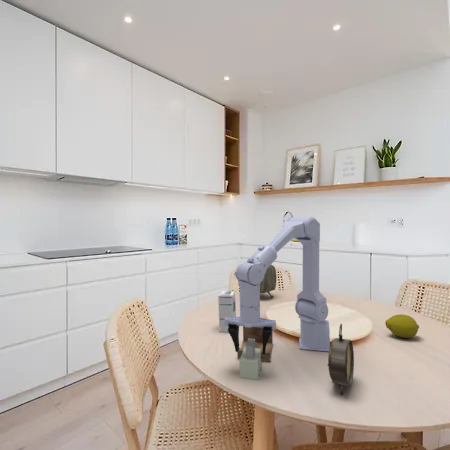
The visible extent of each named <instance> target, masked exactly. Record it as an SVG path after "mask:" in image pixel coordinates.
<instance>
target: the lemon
mask: <svg viewBox="0 0 450 450" xmlns="http://www.w3.org/2000/svg"><path fill="white" fill-rule="evenodd" d="M384 324H385V327H386V329H388V330H389V332H391V333H392V334H393V335H395V336H397V337H399V338H404V339H407V338H409V339H410V338H412V337H415V336H416V335H417V333H418V331H419V329H420V325H419V324H418V323H417V321H416V320H415V318H414V317H412V316H410V315H407V314H395V315H392V316H391V317H389V318H388V319H386V320H385V322H384Z"/></svg>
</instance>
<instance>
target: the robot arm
mask: <svg viewBox="0 0 450 450" xmlns="http://www.w3.org/2000/svg"><path fill="white" fill-rule="evenodd" d="M292 239H295V240H297V241H299V243H300V244H301V245H302V290H301V291H300V292H299V293H297V294H296V300H295V301H296V302H295V304H294V310H295V312H296V314H297V315H298V318H299V320H300V322H299V323H300V337H299V338H298V343H299V349H300V350H307V351H308V350H309V351H317V352H329V349H330V344H331V338H330V337H331V336H330V334H331V333H330V331H331V330H330V323H329V320H327V318H328V316H329V307H328V303H327V298H326V296H325V295H324V294H323V293H321V291H320V241H321V223H320V222H319V221H318V220H317V219H316V218H315V217H312V216H310V217H294V216H293V217H292V216H290V217H288V218H287V219H286V220H285V221H283V223H282V227H281V229H280V230H278V232H277V233H276V235H275V236H274V237H273V238H272V239H271V241H270V242H269V243H268V244H262V245H259V246H258V247H257V251H255V252H254V253H253V254H252V255H251V256H250V257H248V258H247V261H243V262H241V263H240V264H239V265H238V266H237V268H236V271H234V275H235V279H236V280H237V281H238V284H237V285H238V287H239V316H236V317H226V318H225V326H229V327H228V332H227V333H228V334H229V335H230V338H231V340H232V342H233V346H234V350H235V352H236V353H237V352H238V350H239V348H240V336H239V335H240V327H243V326H245V327H249V328H251V327H260V328H263V331H262V337H263V348H262V354H265V351H266V345H267V342H268V339H269V337H270V335H271V332H272V331H273V330H276V329H277V320H275V319H269V318H263V317H261V293H260V282H262V281H263V279H264V274H265V272H266V270H267V268H268V267H269V266H270V265H273V263H274V262H275V261H276V260H277V259H278V254H277V253H278V252H279V251H280V250H281V249H282V248H284V247H285V246H286V245H287V244H288V243H289V242H290V241H291V240H292Z"/></svg>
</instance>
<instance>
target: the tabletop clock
mask: <svg viewBox="0 0 450 450" xmlns="http://www.w3.org/2000/svg"><path fill="white" fill-rule="evenodd" d="M276 287H277V270H276V266H275V265H273V264H271V265H270V266H269V267H268V268H267V270H266V272H265V274H264V279H263V281H262V282H260V294H265V293H267V294H268V295H269V298H270V299H274V296H273V295H272V294H271V292H273V291H274V290H276Z"/></svg>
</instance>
